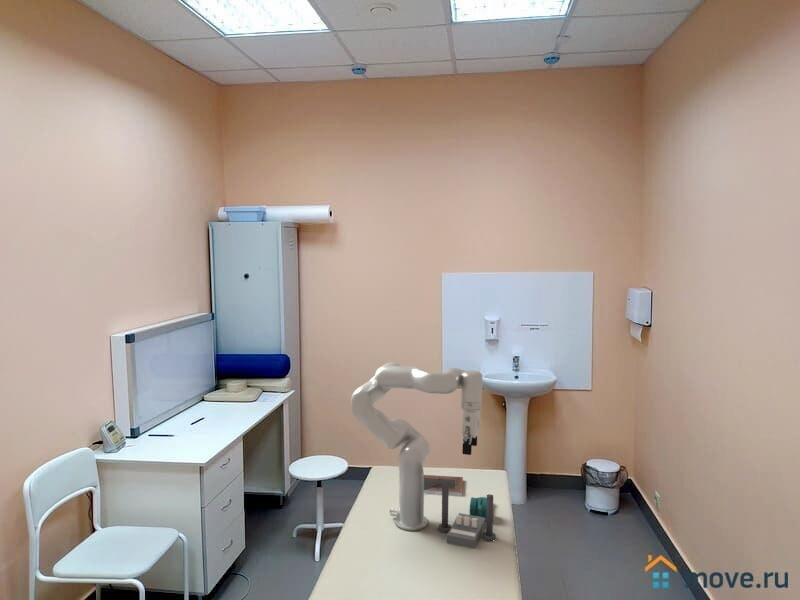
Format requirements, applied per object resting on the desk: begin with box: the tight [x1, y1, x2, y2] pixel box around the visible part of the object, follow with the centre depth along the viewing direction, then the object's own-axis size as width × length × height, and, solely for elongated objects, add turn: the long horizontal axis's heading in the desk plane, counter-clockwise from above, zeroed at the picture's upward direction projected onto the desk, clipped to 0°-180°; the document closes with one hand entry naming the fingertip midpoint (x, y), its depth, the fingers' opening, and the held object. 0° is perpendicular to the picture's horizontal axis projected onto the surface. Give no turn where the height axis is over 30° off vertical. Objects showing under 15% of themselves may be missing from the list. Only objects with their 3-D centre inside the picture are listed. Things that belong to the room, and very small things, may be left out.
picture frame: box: [424, 474, 464, 497], centre depth 250 cm, size 16×2×22 cm
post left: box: [437, 487, 452, 534], centre depth 211 cm, size 5×5×16 cm
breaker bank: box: [455, 514, 478, 528], centre depth 209 cm, size 8×1×3 cm, turn 69°
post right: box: [481, 493, 497, 542], centre depth 205 cm, size 5×5×16 cm
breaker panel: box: [446, 512, 486, 549], centre depth 209 cm, size 10×18×3 cm, turn 159°
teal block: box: [469, 496, 487, 524], centre depth 227 cm, size 18×7×8 cm, turn 164°
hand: (469, 449), depth 207 cm, fingers open, 9 cm apart
